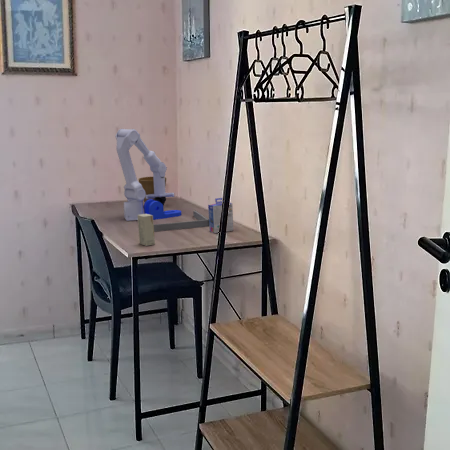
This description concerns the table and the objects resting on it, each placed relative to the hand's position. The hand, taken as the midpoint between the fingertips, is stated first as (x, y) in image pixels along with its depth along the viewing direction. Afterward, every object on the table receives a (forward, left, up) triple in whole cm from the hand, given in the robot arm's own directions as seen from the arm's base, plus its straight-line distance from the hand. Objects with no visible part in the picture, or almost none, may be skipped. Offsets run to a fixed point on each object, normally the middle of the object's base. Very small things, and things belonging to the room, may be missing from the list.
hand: (160, 211), depth 322 cm
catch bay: (0, -28, -1) cm, 28 cm away
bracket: (0, -9, -1) cm, 9 cm away
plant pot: (0, +18, -1) cm, 18 cm away
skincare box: (-19, -63, -1) cm, 66 cm away
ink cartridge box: (+16, -53, -1) cm, 55 cm away
